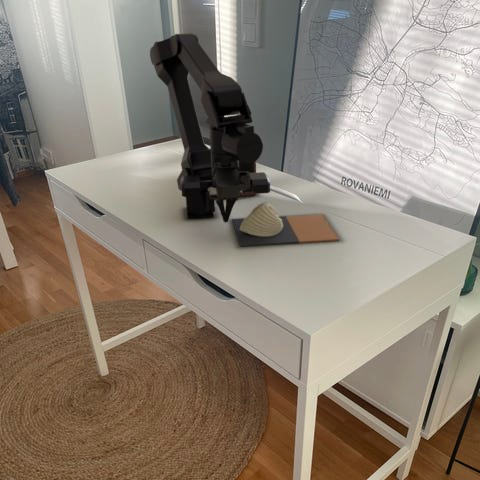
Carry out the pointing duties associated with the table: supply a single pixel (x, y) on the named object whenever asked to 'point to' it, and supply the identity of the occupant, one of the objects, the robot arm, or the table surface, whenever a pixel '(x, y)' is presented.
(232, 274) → the table surface
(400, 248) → the table surface
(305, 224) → the desk pad
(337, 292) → the table surface
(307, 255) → the table surface
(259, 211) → the seashell
